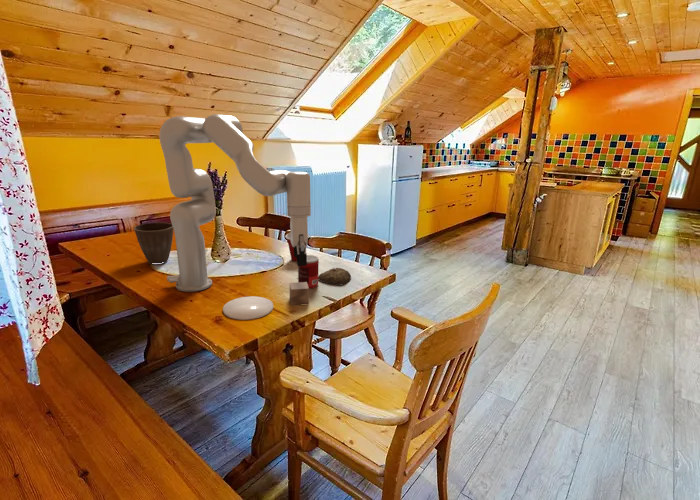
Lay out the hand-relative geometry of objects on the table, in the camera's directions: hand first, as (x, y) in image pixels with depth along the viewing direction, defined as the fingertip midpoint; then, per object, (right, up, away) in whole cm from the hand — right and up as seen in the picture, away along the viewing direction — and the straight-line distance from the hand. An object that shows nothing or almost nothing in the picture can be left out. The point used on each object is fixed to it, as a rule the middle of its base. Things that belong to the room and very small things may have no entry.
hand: (300, 260), depth 128 cm
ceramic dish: (-17, -16, -2) cm, 23 cm away
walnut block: (-1, -14, +5) cm, 15 cm away
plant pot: (-67, -2, +38) cm, 77 cm away
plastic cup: (-7, -1, +47) cm, 48 cm away
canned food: (+1, -10, +19) cm, 21 cm away
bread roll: (+11, -9, +26) cm, 30 cm away
